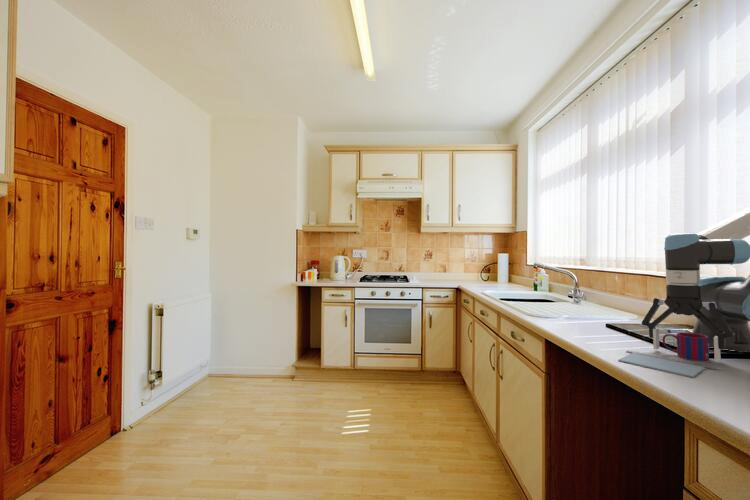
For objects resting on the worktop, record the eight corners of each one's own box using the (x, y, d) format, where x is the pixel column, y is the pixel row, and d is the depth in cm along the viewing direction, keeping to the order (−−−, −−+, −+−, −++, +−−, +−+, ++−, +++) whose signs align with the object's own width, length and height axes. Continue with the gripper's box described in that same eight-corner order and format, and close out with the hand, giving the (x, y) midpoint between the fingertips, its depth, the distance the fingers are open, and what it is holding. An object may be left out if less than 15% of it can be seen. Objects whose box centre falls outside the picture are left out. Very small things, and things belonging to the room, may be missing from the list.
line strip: (628, 351, 103) (628, 350, 103) (717, 368, 86) (717, 367, 86) (626, 352, 102) (626, 351, 102) (716, 370, 85) (716, 369, 85)
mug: (708, 363, 91) (707, 339, 91) (661, 355, 99) (660, 333, 99) (710, 357, 95) (709, 335, 95) (665, 350, 103) (664, 329, 103)
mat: (632, 354, 100) (632, 352, 100) (704, 368, 87) (704, 367, 87) (618, 361, 94) (618, 359, 94) (693, 377, 81) (693, 376, 81)
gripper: (628, 282, 106) (630, 346, 105) (741, 288, 85) (745, 368, 84) (637, 281, 110) (639, 342, 109) (747, 286, 89) (750, 362, 89)
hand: (685, 354), depth 97 cm, fingers open, 13 cm apart
